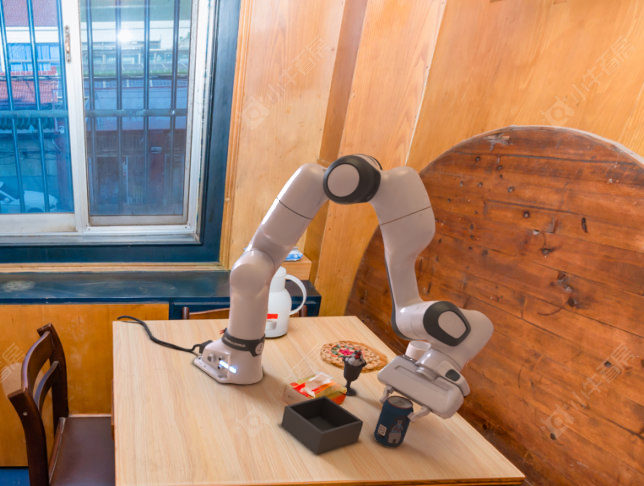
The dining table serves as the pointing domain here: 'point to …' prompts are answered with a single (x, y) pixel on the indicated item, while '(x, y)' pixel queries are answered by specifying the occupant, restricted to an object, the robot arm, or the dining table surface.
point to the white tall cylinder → (417, 349)
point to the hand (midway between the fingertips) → (395, 411)
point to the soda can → (393, 421)
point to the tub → (321, 424)
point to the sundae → (353, 369)
